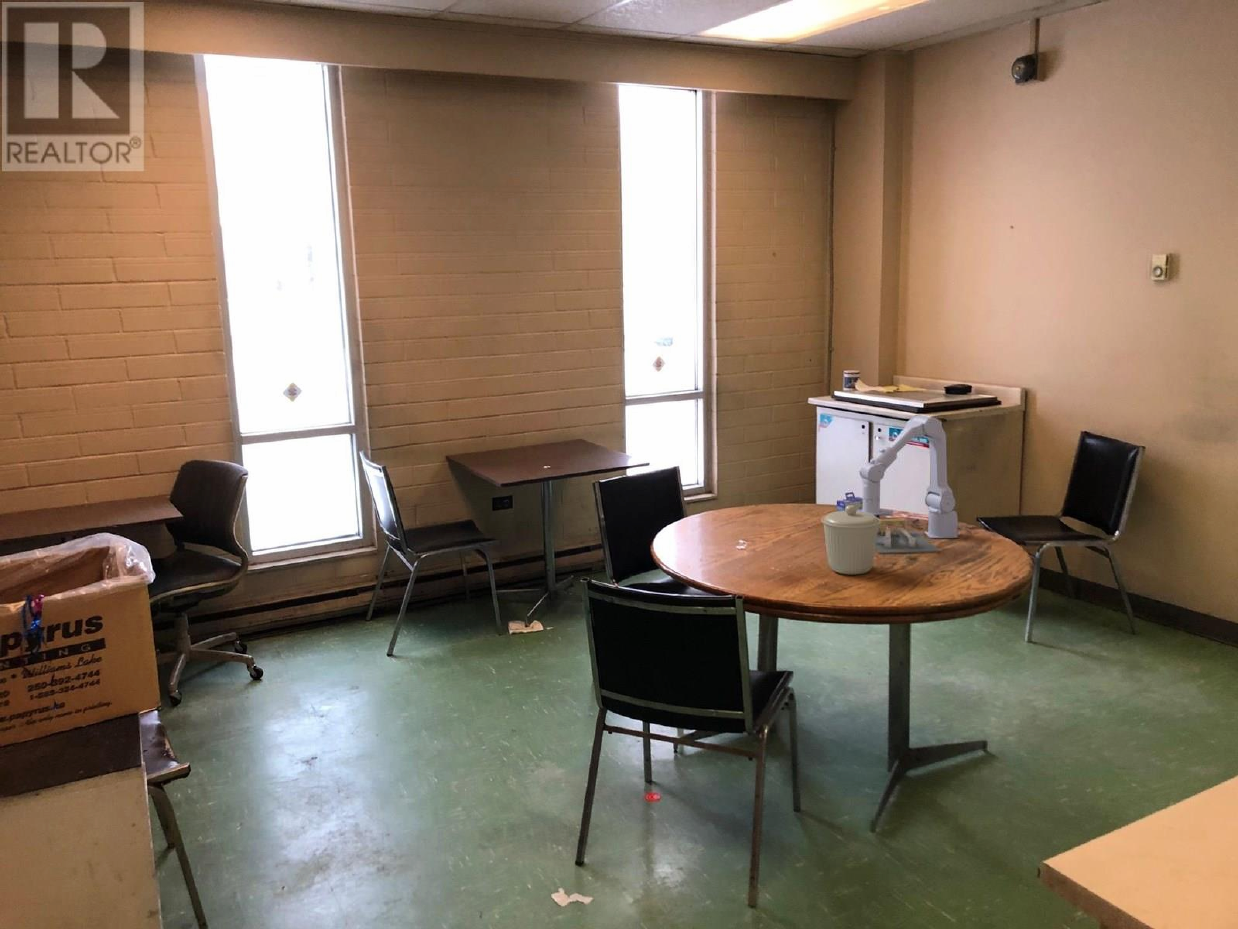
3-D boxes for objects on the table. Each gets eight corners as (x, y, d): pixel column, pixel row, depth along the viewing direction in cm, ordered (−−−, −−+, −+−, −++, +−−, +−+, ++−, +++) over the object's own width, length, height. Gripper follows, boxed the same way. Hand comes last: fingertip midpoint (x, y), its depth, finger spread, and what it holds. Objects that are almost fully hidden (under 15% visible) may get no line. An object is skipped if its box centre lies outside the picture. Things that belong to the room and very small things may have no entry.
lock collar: (902, 532, 347) (902, 518, 347) (904, 534, 345) (904, 520, 344) (878, 533, 348) (879, 519, 347) (880, 535, 345) (881, 521, 344)
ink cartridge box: (857, 528, 358) (857, 490, 355) (867, 532, 353) (867, 492, 350) (835, 532, 353) (836, 493, 351) (845, 535, 349) (845, 496, 346)
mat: (917, 532, 349) (917, 530, 349) (939, 552, 324) (939, 550, 324) (861, 534, 350) (861, 532, 350) (878, 554, 324) (879, 552, 324)
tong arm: (891, 535, 344) (891, 527, 344) (890, 548, 329) (890, 539, 328) (885, 535, 345) (885, 526, 344) (883, 547, 329) (884, 539, 329)
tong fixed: (902, 534, 344) (902, 526, 344) (915, 547, 328) (915, 538, 328) (896, 535, 344) (896, 526, 344) (908, 547, 328) (908, 539, 328)
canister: (823, 578, 301) (823, 512, 297) (819, 561, 318) (819, 499, 314) (883, 579, 298) (884, 512, 294) (876, 562, 316) (877, 498, 312)
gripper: (852, 501, 329) (851, 540, 332) (895, 500, 329) (894, 539, 332) (848, 496, 336) (847, 534, 339) (890, 495, 336) (889, 533, 339)
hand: (870, 536), depth 336 cm, fingers closed
